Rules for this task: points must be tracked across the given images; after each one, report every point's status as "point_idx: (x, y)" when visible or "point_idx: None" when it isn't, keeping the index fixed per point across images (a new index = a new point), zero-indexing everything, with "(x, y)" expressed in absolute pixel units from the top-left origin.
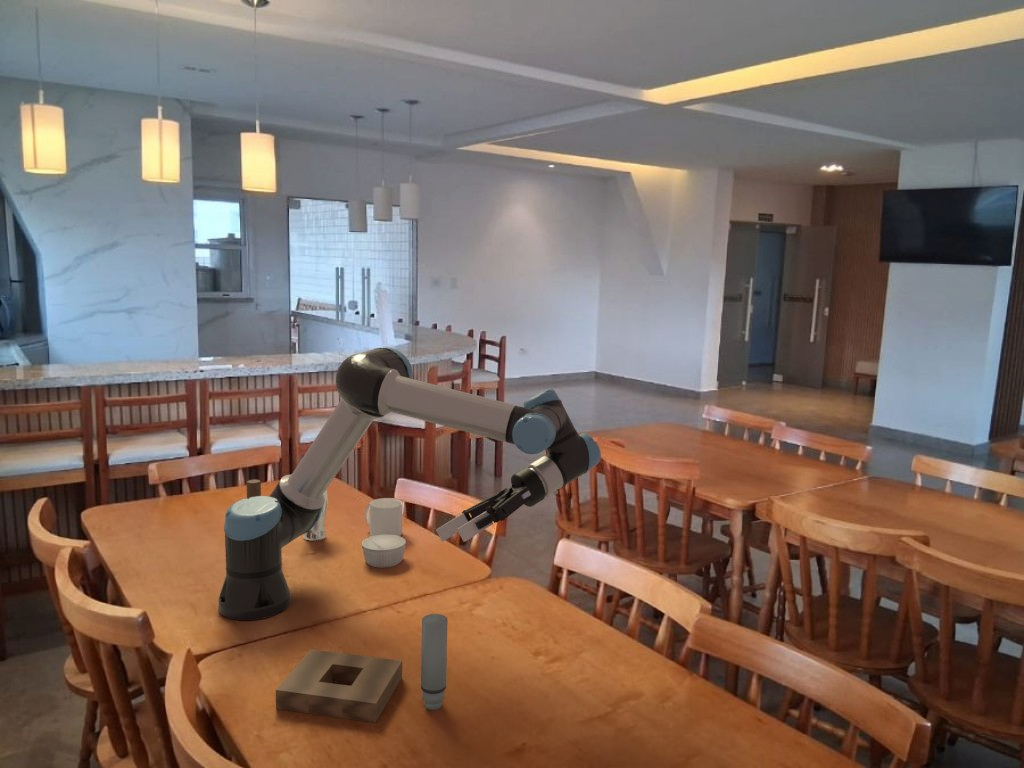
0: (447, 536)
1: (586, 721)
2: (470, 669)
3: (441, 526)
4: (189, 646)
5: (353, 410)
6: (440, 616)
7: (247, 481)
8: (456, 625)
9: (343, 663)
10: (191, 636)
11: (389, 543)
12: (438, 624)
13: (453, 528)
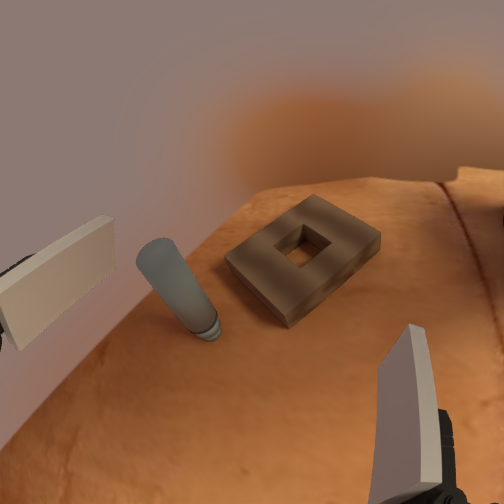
0: (381, 384)
1: (75, 433)
2: (241, 421)
3: (417, 345)
4: (459, 178)
5: None
6: (154, 265)
7: None
8: None
9: (326, 252)
10: (477, 181)
11: None
12: (141, 252)
13: (391, 411)
